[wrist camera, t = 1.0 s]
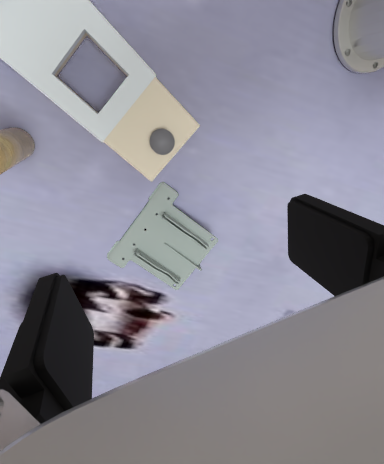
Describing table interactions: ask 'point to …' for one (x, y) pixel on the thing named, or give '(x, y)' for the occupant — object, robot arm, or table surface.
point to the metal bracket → (164, 240)
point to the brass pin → (14, 147)
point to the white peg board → (122, 101)
